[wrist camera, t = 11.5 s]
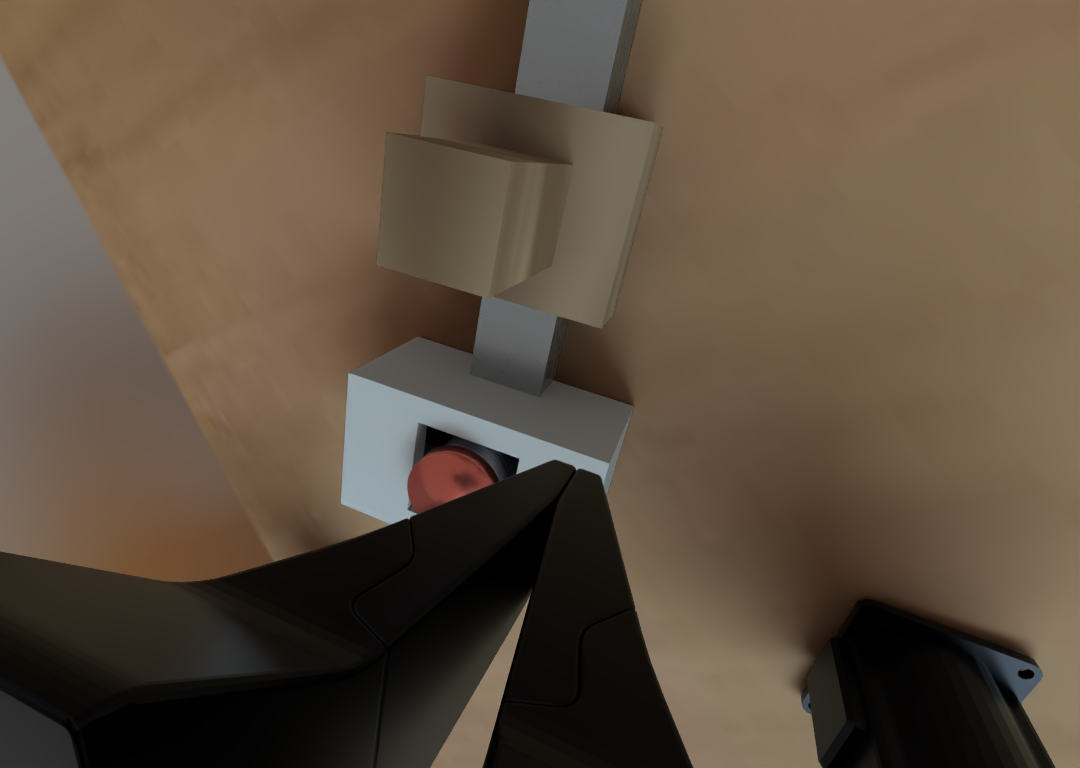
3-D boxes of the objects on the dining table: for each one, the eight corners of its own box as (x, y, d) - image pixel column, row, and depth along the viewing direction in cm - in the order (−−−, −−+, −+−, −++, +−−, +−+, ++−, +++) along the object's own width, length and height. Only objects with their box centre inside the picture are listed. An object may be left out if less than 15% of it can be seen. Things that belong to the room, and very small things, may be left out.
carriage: (669, 132, 18) (622, 101, 10) (623, 302, 21) (555, 382, 13) (479, 91, 20) (311, 38, 12) (457, 255, 22) (306, 301, 14)
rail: (731, -384, 14) (730, -465, 12) (553, 380, 23) (539, 397, 21) (619, -386, 15) (603, -461, 13) (489, 359, 24) (469, 374, 22)
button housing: (633, 406, 22) (609, 463, 18) (598, 521, 25) (569, 596, 20) (418, 336, 25) (348, 372, 20) (405, 449, 27) (341, 503, 23)
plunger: (545, 416, 23) (501, 474, 18) (530, 483, 24) (485, 552, 20) (472, 391, 24) (411, 442, 19) (461, 457, 25) (403, 518, 21)
